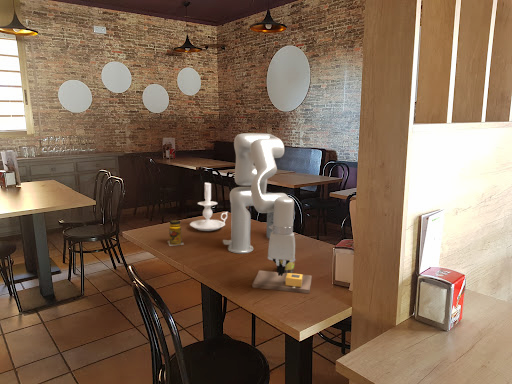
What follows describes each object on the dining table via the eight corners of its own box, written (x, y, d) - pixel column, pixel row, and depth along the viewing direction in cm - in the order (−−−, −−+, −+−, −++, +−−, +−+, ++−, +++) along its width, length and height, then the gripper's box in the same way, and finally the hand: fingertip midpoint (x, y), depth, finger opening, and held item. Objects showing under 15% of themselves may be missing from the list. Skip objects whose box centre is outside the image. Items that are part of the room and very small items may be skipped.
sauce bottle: (295, 274, 165) (297, 229, 162) (281, 275, 164) (283, 229, 160) (291, 268, 171) (293, 224, 168) (277, 269, 170) (279, 225, 166)
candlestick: (237, 229, 231) (238, 182, 225) (201, 236, 215) (201, 186, 210) (218, 221, 246) (218, 177, 241) (183, 227, 231) (182, 181, 226)
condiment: (169, 246, 197) (169, 223, 195) (166, 241, 205) (166, 219, 203) (184, 244, 200) (184, 222, 198) (180, 240, 208) (180, 218, 205)
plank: (252, 287, 151) (252, 283, 151) (259, 273, 165) (259, 270, 165) (309, 293, 147) (309, 289, 147) (311, 279, 161) (311, 275, 160)
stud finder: (285, 285, 150) (285, 277, 149) (287, 280, 154) (287, 272, 154) (301, 286, 148) (301, 279, 148) (302, 281, 153) (302, 274, 153)
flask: (264, 236, 217) (265, 192, 213) (271, 235, 220) (272, 192, 215) (281, 245, 203) (283, 198, 198) (288, 244, 205) (290, 197, 200)
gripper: (261, 230, 146) (260, 276, 150) (301, 234, 144) (298, 280, 147) (265, 225, 154) (263, 268, 157) (303, 228, 151) (300, 272, 155)
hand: (280, 274), depth 152 cm, fingers closed
